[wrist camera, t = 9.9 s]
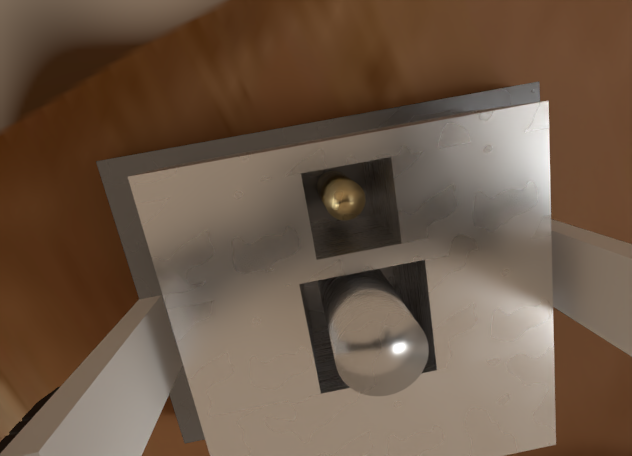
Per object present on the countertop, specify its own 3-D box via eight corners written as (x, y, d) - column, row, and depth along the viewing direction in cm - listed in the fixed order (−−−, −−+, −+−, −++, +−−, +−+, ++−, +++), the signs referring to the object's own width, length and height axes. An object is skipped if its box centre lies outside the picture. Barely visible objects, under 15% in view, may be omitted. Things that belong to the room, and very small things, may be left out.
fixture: (515, 87, 15) (700, 46, 8) (526, 349, 18) (670, 477, 11) (114, 159, 15) (-33, 178, 8) (193, 418, 18) (134, 595, 11)
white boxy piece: (492, 372, 16) (556, 444, 13) (241, 423, 16) (227, 514, 12) (474, 110, 14) (548, 100, 10) (173, 164, 13) (127, 176, 10)
